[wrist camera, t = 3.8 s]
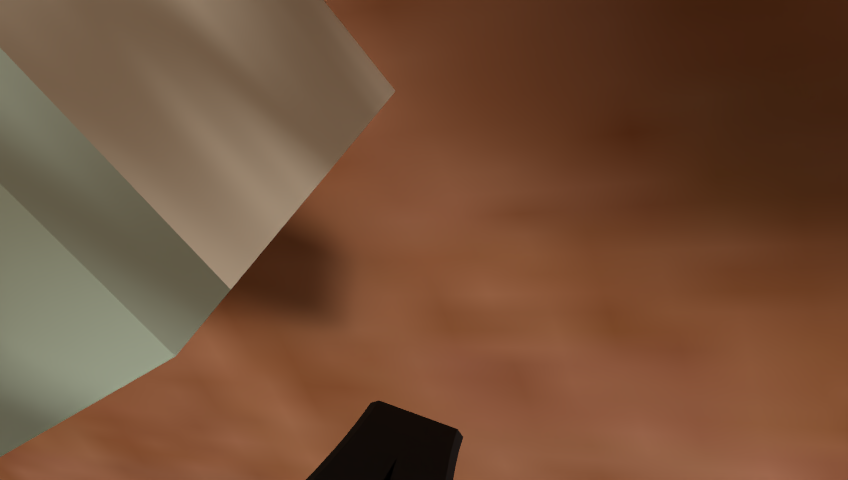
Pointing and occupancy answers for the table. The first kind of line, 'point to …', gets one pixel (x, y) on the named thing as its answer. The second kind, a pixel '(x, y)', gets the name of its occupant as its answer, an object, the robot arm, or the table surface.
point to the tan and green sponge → (151, 175)
